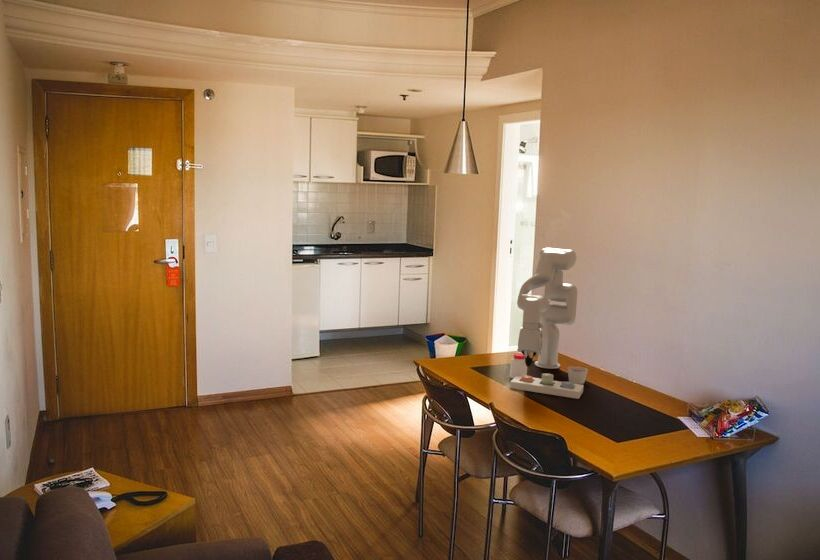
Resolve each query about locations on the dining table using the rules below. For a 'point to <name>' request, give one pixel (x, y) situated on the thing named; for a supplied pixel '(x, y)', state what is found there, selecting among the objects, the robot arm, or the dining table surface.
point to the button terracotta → (527, 378)
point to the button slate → (567, 385)
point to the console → (547, 387)
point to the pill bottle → (518, 365)
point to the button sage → (547, 379)
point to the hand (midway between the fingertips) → (528, 365)
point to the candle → (577, 374)
